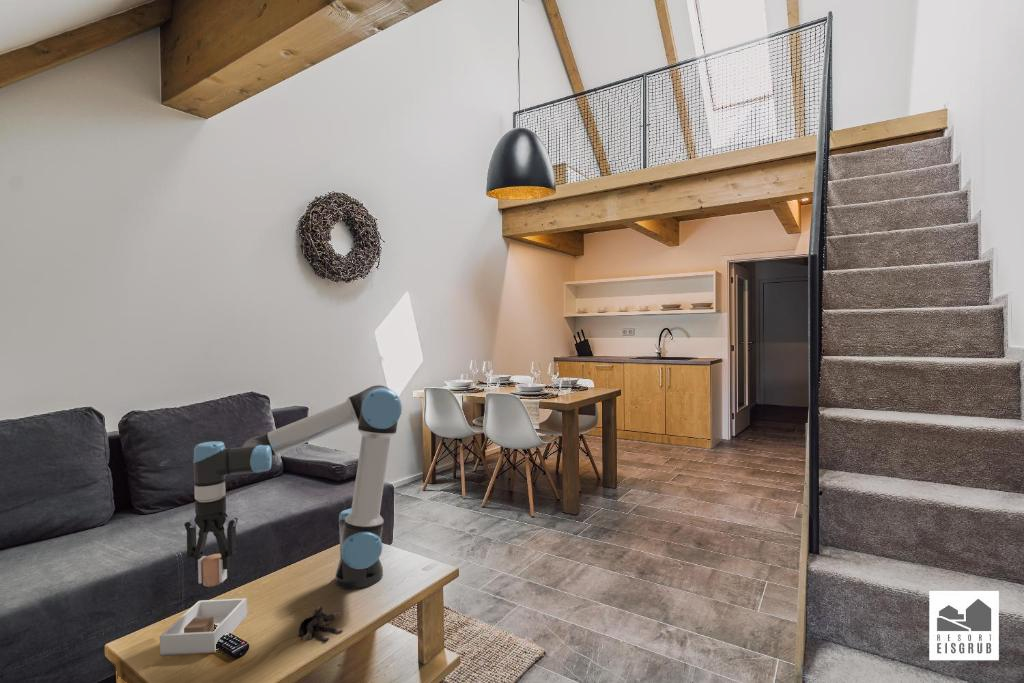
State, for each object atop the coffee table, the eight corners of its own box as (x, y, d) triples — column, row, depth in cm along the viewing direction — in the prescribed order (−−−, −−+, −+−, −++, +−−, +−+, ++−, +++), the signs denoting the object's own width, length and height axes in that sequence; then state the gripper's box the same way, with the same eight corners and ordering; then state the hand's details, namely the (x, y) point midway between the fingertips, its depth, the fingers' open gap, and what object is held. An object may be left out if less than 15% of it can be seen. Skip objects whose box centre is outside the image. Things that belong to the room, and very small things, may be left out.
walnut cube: (204, 645, 134) (203, 626, 134) (184, 647, 134) (183, 628, 134) (214, 634, 139) (213, 616, 139) (195, 636, 139) (194, 617, 139)
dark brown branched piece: (314, 645, 132) (294, 607, 138) (304, 668, 136) (285, 629, 142) (354, 624, 141) (333, 589, 147) (344, 645, 145) (324, 610, 151)
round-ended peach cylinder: (218, 586, 142) (217, 561, 142) (199, 587, 142) (198, 562, 142) (227, 577, 147) (226, 553, 147) (209, 578, 147) (208, 554, 147)
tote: (247, 615, 149) (246, 598, 149) (214, 652, 132) (214, 633, 132) (199, 617, 149) (198, 600, 149) (160, 655, 131) (159, 635, 131)
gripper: (249, 492, 148) (251, 573, 148) (185, 495, 147) (188, 575, 147) (236, 501, 141) (239, 585, 141) (169, 503, 140) (171, 588, 140)
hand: (212, 580), depth 144 cm, fingers closed on round-ended peach cylinder, 5 cm apart
